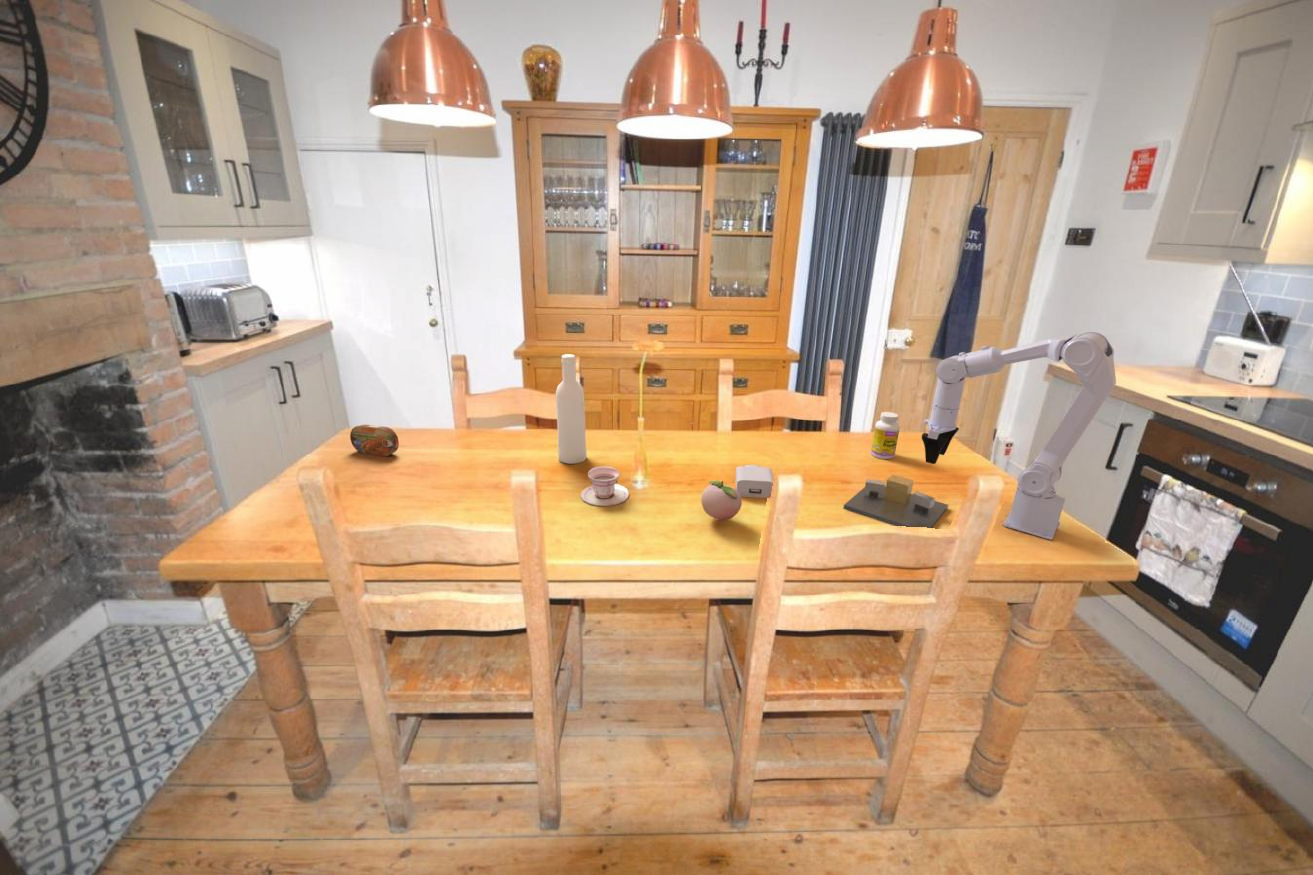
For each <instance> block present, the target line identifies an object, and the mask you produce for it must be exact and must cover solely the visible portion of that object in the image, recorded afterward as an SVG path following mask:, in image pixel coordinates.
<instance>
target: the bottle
mask: <svg viewBox="0 0 1313 875" xmlns="http://www.w3.org/2000/svg"><path fill="white" fill-rule="evenodd" d="M560 363H561V371H562V372H561V373H562V380H561V382H560V383H559V384H558V385H557V388H556V391H555V405H556V406H555V407H556V408H555V409H556V427H557V453H558V460H559V461H560V462H561V463H563V464H568V465H570V464H572V465H574V464H579V463H583V462H584V461H586V459H587V444H586V437H587V436H586V413H585V412H586V408H585V406H586V405H585V392H584V388H583V385H582V384H581V383H580V382H578V380H577V373H576V372H577V370H576V363H577V360H576V355H575V354H563V355H561V361H560Z"/></svg>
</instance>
